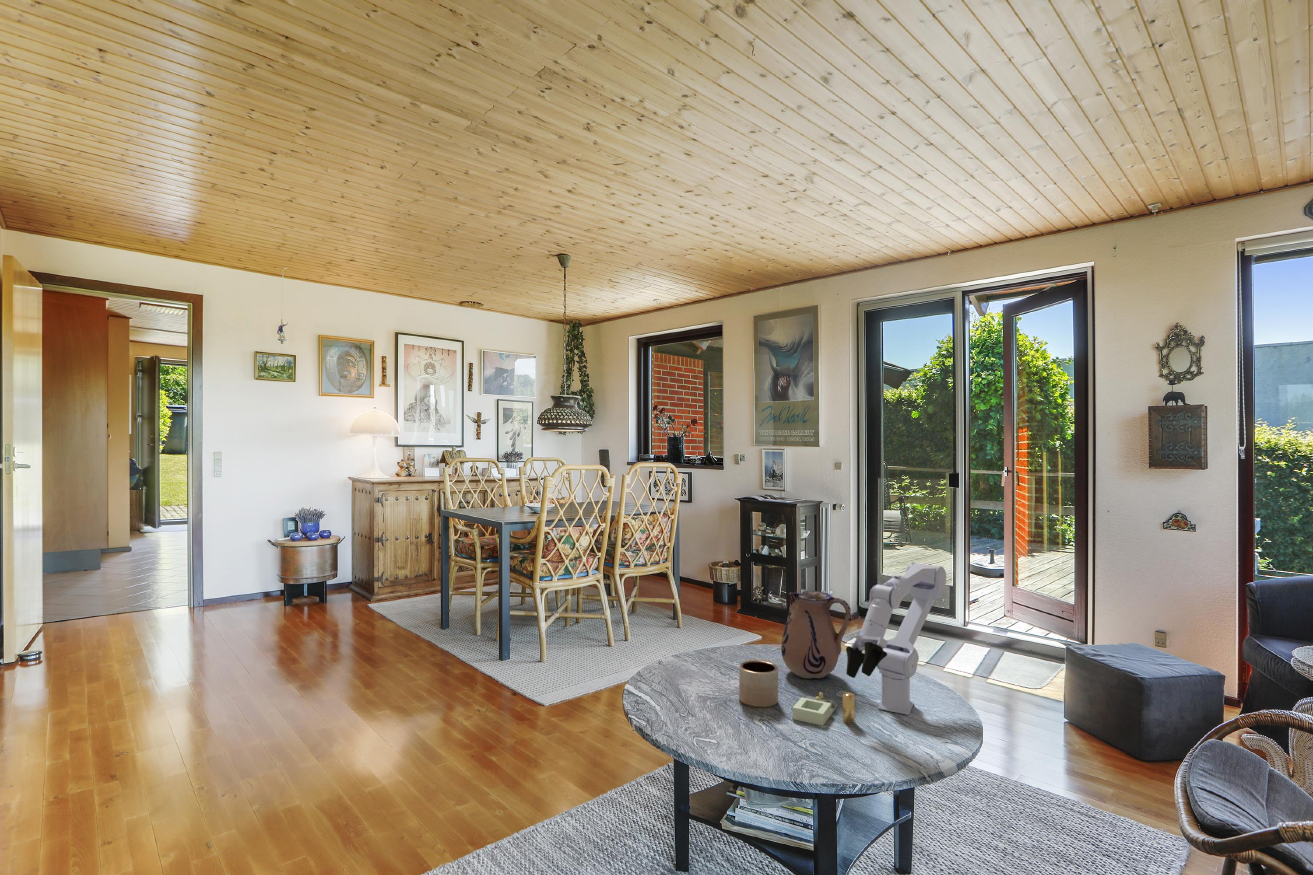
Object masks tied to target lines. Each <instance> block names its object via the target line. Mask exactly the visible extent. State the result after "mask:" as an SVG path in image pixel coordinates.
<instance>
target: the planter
mask: <svg viewBox="0 0 1313 875" xmlns="http://www.w3.org/2000/svg"><path fill="white" fill-rule="evenodd" d="M738 668H739V670H738V672H739V673H738V674H739V675H738V676H739V677H738V678H739V681H738V699H739V701H741V703H743V704H744V705H746V706H747V707H753V708H759V709H760V708H763V709H764V708H770V707H774V705H776V704H778V702H779V666H778V665H777V664H775V663H773V662H769V661H765V660H755V659H754V660H747V661H743V662H741V663H740V664H739V667H738Z"/></svg>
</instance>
